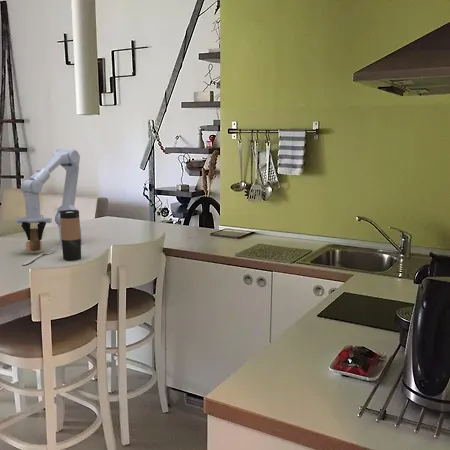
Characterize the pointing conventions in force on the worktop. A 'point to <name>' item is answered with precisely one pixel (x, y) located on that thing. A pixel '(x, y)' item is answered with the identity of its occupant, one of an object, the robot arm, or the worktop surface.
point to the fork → (38, 256)
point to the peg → (34, 240)
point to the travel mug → (70, 235)
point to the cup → (30, 247)
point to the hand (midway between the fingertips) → (34, 239)
